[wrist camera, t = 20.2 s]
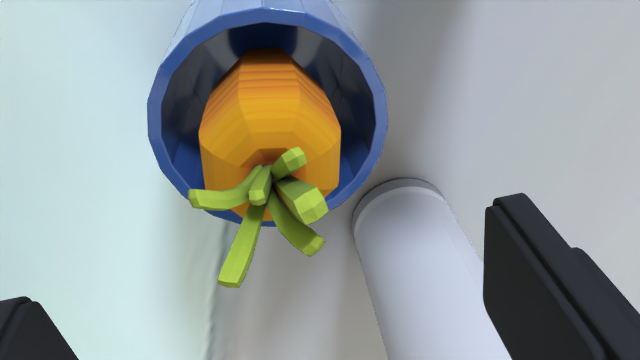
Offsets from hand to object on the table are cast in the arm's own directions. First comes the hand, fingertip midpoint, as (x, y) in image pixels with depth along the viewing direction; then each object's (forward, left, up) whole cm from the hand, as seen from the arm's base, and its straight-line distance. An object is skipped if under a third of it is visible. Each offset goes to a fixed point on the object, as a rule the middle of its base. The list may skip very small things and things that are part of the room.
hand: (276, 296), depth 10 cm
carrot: (0, 0, -17) cm, 17 cm away
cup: (0, 0, -18) cm, 18 cm away
